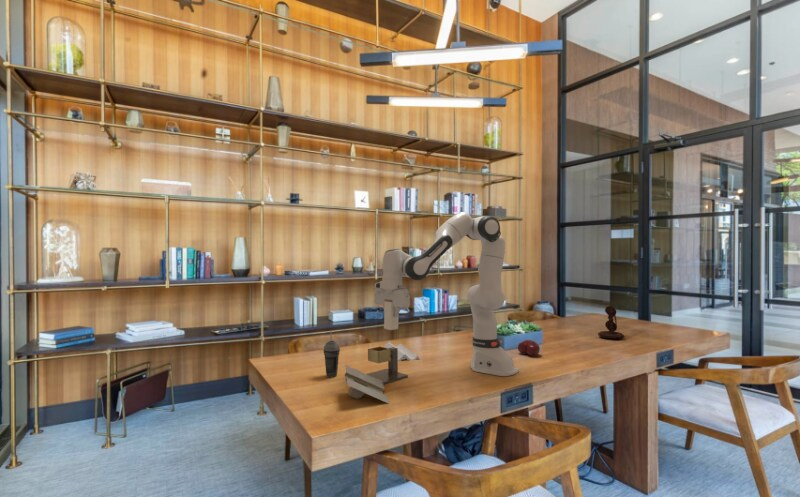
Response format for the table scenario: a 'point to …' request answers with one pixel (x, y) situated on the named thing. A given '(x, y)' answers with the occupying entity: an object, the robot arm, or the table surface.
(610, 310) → the dark figurine
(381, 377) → the bracket
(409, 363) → the table surface
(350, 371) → the grey grooved block
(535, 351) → the heart
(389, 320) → the rail end
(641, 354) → the table surface
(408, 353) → the crown molding
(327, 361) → the dark travel mug
